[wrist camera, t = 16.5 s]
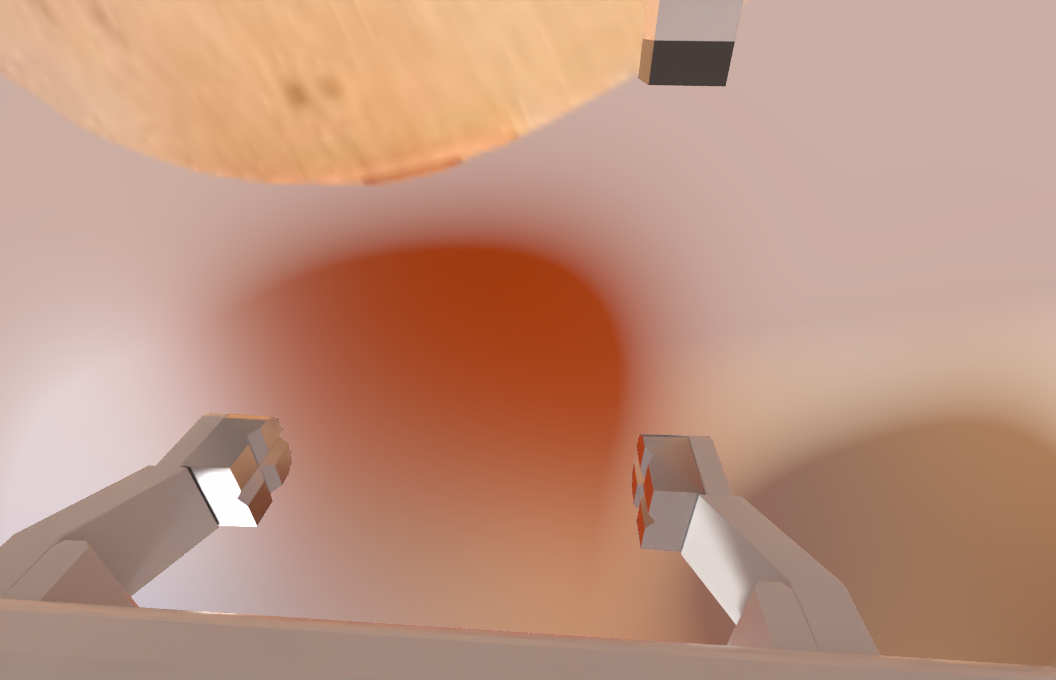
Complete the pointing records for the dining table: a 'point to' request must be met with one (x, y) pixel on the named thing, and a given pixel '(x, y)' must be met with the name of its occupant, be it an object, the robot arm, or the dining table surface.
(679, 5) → the grey bar
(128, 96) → the dining table surface
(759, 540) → the robot arm
